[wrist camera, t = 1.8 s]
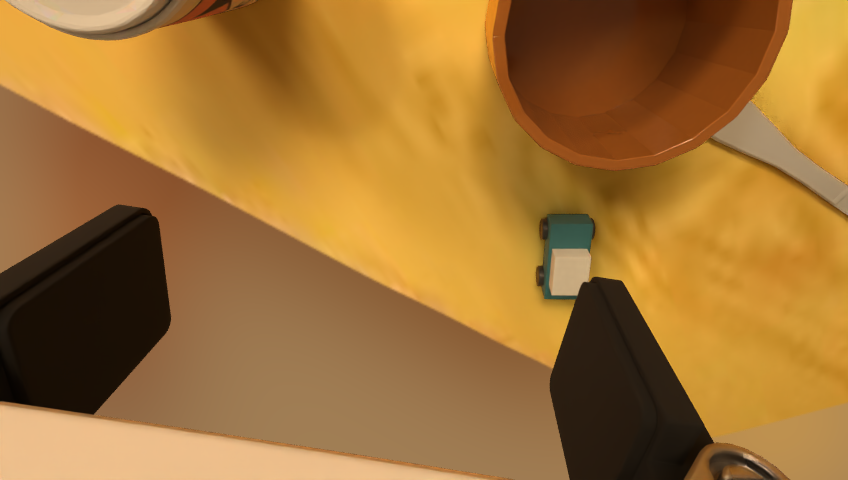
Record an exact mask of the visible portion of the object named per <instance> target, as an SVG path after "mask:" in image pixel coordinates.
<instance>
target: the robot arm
mask: <svg viewBox="0 0 848 480" xmlns="http://www.w3.org/2000/svg"><path fill="white" fill-rule="evenodd" d="M170 322H171V314H170V306H169V298H168V290H167V283H166V275H165V267H164V259H163V252H162V245H161V237H160V228H159V222H158V220H157V218H156V217H154V216H152V215H151V213H150V211H149V210H147V209H145V208H138V207H132V206H125V205H116V206H114V207H112V208H110V209H108V210H107V211H105V212H104V213H102V214H100V215H99V216H97V217H95V218H94V219H92V220H90V221H88V222H86V223H85V224H83V225H82V226H80V227H78V228H76V229H75V230H73V231H71V232H70V233H68V234H66V235H65V236H63V237H61V238H60V239H58V240H56V241H54V242H53V243H51V244H50V245H48V246H46V247H44V248H43V249H41V250H39V251H37V252H36V253H34V254H32V255H31V256H29V257H28V258H26V259H24V260H22V261H21V262H19V263H17V264H16V265H14V266H12V267H10V268H9V269H7V270H5V271H4V272H2V273H0V480H513V479H507V478H501V477H495V476H489V475H482V474H476V473H470V472H463V471H457V470H451V469H445V468H438V467H432V466H425V465H419V464H413V463H406V462H401V461H394V460H388V459H381V458H375V457H369V456H362V455H357V454H349V453H344V452H337V451H331V450H324V449H318V448H311V447H304V446H298V445H292V444H285V443H278V442H272V441H266V440H259V439H252V438H245V437H239V436H232V435H226V434H219V433H213V432H206V431H200V430H193V429H186V428H180V427H173V426H166V425H159V424H153V423H146V422H139V421H132V420H126V419H119V418H112V417H105V416H98V415H94V413H95V412H96V411H97V410H98V409H99V408H100V407H101V406H102V404H103V403H104V402H105V401H106V400H107V399H108V398H109V397H110V396H111V394H112V393H113V392H114V391H115V390H116V389H117V388H118V387H119V385H120V384H121V383H122V382H123V381H124V380H125V379H126V378H127V376H128V375H129V374H130V373H131V372H132V371H133V369H135V367H136V366H137V365H138V364H139V363H140V361H142V359H143V358H144V357H145V356H146V355H147V354H148V352H150V351H151V349H152V348H153V347H154V346H155V345H156V344H157V342H159V340H160V339H161V338H162V337H163V336H164V335H165V333H166V332H167V331H168V328H169V326H170ZM550 393H551V398H552V402H553V407H554V411H555V416H556V420H557V424H558V429H559V433H560V438H561V442H562V447H563V451H564V456H565V459H566V465H567V469H568V474H569V478H570V480H790V479H789V478H788V477H786V476H785V475H784V474H783V473H782V472H781V471H780V470H779V469H778V468H777V467H776V466H774V465H773V464H771V463H770V462H768V461H767V460H766V459H764V458H763V457H761V456H759V455H757V454H755V453H753V452H751V451H749V450H747V449H745V448H742V447H739V446H736V445H733V444H728V443H714V442H713V440H712V438H711V436H710V435H709V433H708V431H707V429H706V428H705V425H704V423H703V422H702V420H701V418H700V416H699V415H698V413H697V411H696V409H695V408H694V406H693V404H692V402H691V401H690V399H689V397H688V395H687V394H686V392H685V390H684V388H683V387H682V385H681V383H680V381H679V380H678V378H677V376H676V374H675V373H674V371H673V369H672V367H671V366H670V364H669V362H668V360H667V359H666V357H665V355H664V353H663V352H662V350H661V348H660V346H659V345H658V343H657V341H656V339H655V338H654V336H653V334H652V332H651V330H650V329H649V327H648V325H647V323H646V322H645V320H644V318H643V316H642V315H641V313H640V311H639V309H638V308H637V306H636V304H635V302H634V301H633V299H632V297H631V295H630V294H629V292H628V290H627V288H626V287H625V285H624V283H623V282H622V281H620V280H614V279H608V278H601V277H593V278H592V279H591V281H590V282H583V283H582V284H581V287H580V289H579V292H578V295H577V298H576V301H575V304H574V307H573V310H572V313H571V316H570V319H569V322H568V325H567V328H566V331H565V334H564V337H563V341H562V344H561V347H560V350H559V353H558V356H557V359H556V362H555V365H554V368H553V371H552V374H551V378H550Z"/></svg>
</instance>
